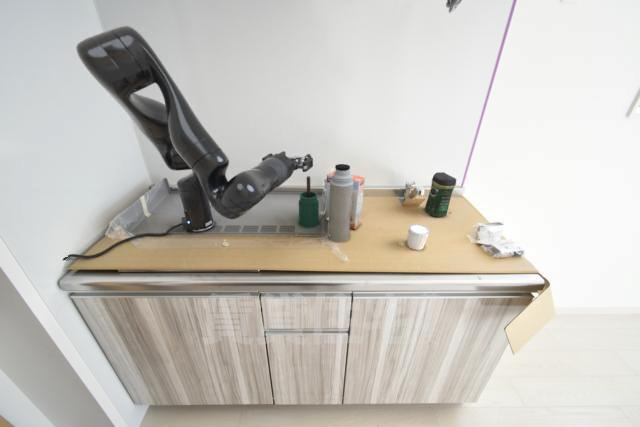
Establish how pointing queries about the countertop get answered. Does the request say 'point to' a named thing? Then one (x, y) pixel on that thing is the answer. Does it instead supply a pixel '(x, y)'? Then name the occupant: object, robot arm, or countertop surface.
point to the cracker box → (356, 199)
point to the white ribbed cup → (417, 236)
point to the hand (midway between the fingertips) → (296, 155)
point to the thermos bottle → (340, 203)
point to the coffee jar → (440, 194)
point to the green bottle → (308, 210)
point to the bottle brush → (308, 186)
